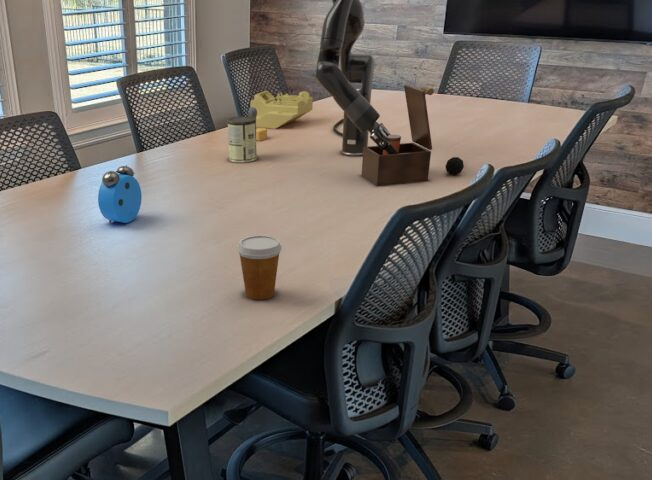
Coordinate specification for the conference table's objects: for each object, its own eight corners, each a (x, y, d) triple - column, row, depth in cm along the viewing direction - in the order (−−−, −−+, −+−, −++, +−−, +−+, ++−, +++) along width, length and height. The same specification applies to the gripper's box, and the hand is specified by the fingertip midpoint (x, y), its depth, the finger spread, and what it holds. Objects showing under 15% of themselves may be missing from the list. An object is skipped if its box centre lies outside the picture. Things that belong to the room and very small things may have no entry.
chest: (376, 186, 228) (378, 156, 223) (361, 175, 239) (363, 146, 234) (427, 181, 230) (431, 151, 226) (410, 170, 241) (413, 142, 237)
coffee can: (235, 155, 269) (234, 115, 262) (261, 156, 265) (260, 116, 258) (224, 161, 261) (222, 121, 254) (250, 163, 257) (249, 122, 250)
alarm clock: (127, 213, 213) (122, 162, 205) (144, 215, 210) (139, 164, 203) (100, 226, 203) (93, 173, 196) (118, 229, 201) (111, 175, 193)
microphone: (451, 170, 251) (446, 178, 234) (448, 153, 249) (443, 160, 232) (468, 166, 249) (464, 173, 232) (465, 149, 247) (461, 155, 230)
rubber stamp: (239, 138, 293) (238, 107, 287) (247, 135, 297) (246, 104, 291) (259, 140, 288) (258, 109, 281) (267, 138, 292) (267, 106, 285)
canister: (378, 165, 234) (380, 135, 229) (394, 164, 234) (396, 133, 229) (385, 169, 229) (387, 138, 224) (401, 168, 230) (403, 137, 225)
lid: (422, 91, 215) (439, 85, 216) (403, 85, 227) (420, 79, 227) (430, 150, 225) (446, 144, 225) (412, 141, 236) (427, 135, 237)
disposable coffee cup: (253, 282, 165) (252, 232, 159) (289, 290, 160) (289, 239, 154) (230, 297, 159) (228, 245, 152) (266, 306, 154) (266, 253, 148)
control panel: (244, 92, 304) (265, 80, 317) (242, 129, 314) (262, 116, 328) (296, 104, 296) (315, 91, 309) (291, 142, 306) (310, 128, 320)
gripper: (367, 109, 218) (403, 151, 221) (373, 100, 230) (408, 140, 233) (348, 126, 223) (384, 167, 225) (356, 117, 234) (390, 156, 237)
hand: (396, 153), depth 229 cm, fingers closed on canister, 5 cm apart
